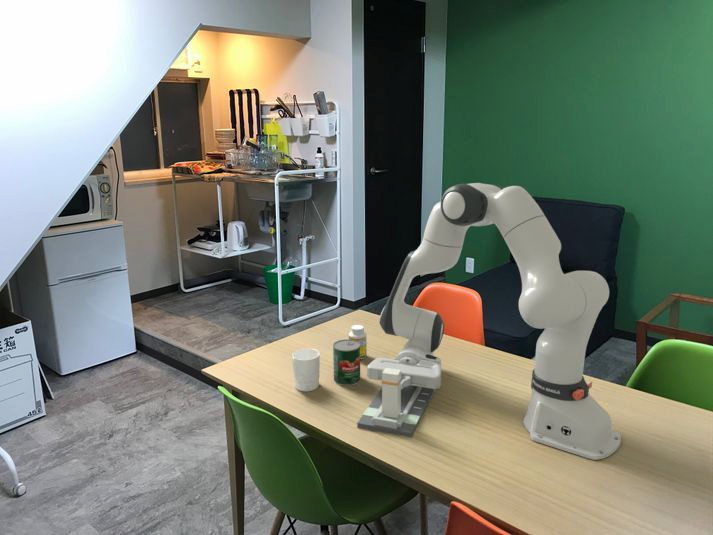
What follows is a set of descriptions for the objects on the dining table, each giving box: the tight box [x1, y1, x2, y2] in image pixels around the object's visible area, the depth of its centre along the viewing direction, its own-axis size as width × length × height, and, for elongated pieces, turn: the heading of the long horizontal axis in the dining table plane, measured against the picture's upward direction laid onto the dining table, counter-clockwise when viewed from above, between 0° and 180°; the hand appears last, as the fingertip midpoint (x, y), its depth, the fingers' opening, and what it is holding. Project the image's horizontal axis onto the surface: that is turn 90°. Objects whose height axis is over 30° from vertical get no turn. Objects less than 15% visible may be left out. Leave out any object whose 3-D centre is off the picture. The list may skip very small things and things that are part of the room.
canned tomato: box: [332, 338, 361, 386], centre depth 168 cm, size 8×8×11 cm
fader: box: [381, 368, 401, 418], centre depth 145 cm, size 4×3×12 cm
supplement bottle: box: [348, 324, 368, 360], centre depth 183 cm, size 6×6×10 cm
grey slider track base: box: [356, 385, 435, 438], centre depth 152 cm, size 14×24×3 cm, turn 160°
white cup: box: [291, 348, 321, 392], centre depth 164 cm, size 8×8×10 cm
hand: (396, 386), depth 150 cm, fingers closed
